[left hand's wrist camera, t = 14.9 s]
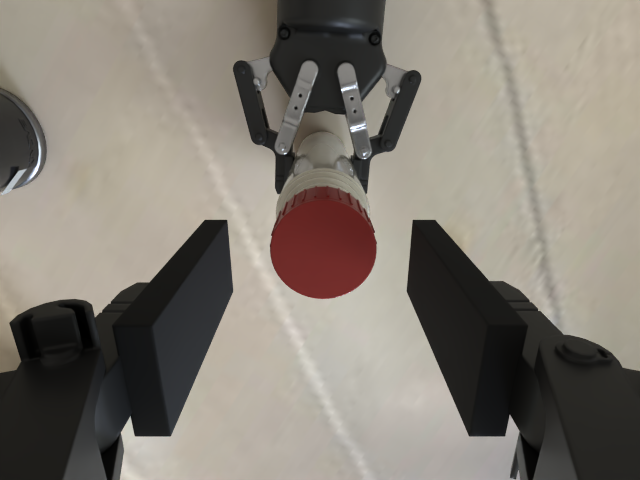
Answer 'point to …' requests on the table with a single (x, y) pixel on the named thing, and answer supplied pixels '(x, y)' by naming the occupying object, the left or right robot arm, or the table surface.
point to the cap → (323, 243)
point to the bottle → (322, 169)
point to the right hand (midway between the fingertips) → (320, 200)
